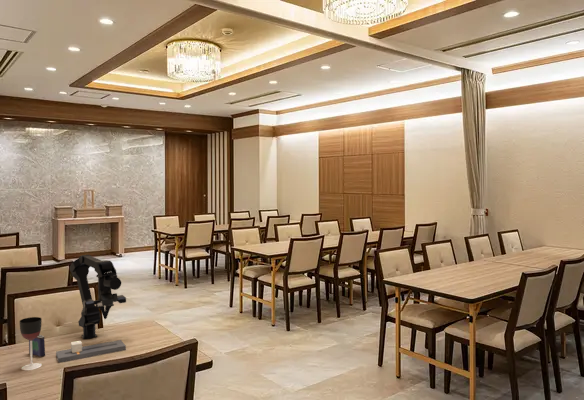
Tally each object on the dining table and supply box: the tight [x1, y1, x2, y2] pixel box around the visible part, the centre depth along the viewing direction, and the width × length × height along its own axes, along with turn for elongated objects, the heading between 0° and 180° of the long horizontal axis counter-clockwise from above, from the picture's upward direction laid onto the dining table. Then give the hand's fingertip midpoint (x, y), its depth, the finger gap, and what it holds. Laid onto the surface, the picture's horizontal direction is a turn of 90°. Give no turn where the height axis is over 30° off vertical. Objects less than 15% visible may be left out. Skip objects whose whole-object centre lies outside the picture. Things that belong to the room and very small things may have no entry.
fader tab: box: [70, 340, 83, 353], centre depth 204 cm, size 4×4×4 cm
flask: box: [28, 333, 46, 358], centre depth 205 cm, size 9×3×11 cm, turn 65°
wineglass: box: [19, 316, 43, 371], centre depth 191 cm, size 8×9×20 cm
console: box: [55, 339, 127, 364], centre depth 207 cm, size 10×28×2 cm, turn 123°
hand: (105, 318), depth 220 cm, fingers closed
